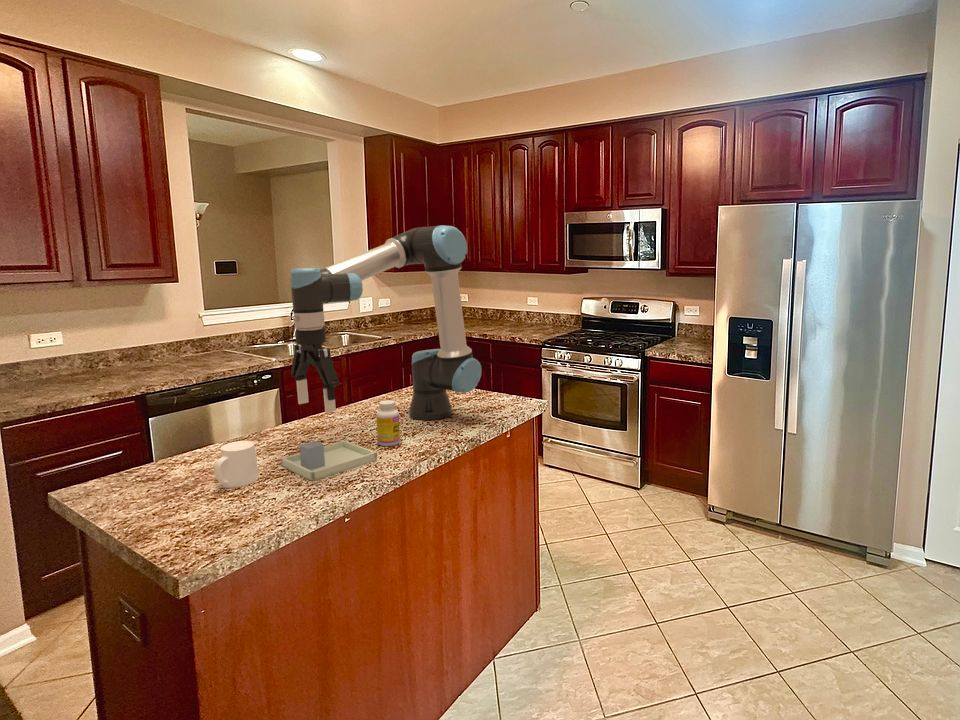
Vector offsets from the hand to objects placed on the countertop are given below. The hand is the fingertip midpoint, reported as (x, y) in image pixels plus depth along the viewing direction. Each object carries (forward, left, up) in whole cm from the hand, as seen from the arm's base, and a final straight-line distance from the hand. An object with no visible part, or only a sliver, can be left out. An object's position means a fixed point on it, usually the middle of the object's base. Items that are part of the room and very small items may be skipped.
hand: (316, 407), depth 153 cm
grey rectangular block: (+2, 0, -16) cm, 16 cm away
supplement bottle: (-24, -1, -17) cm, 29 cm away
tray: (-3, 0, -16) cm, 17 cm away
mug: (+20, -6, -17) cm, 27 cm away
